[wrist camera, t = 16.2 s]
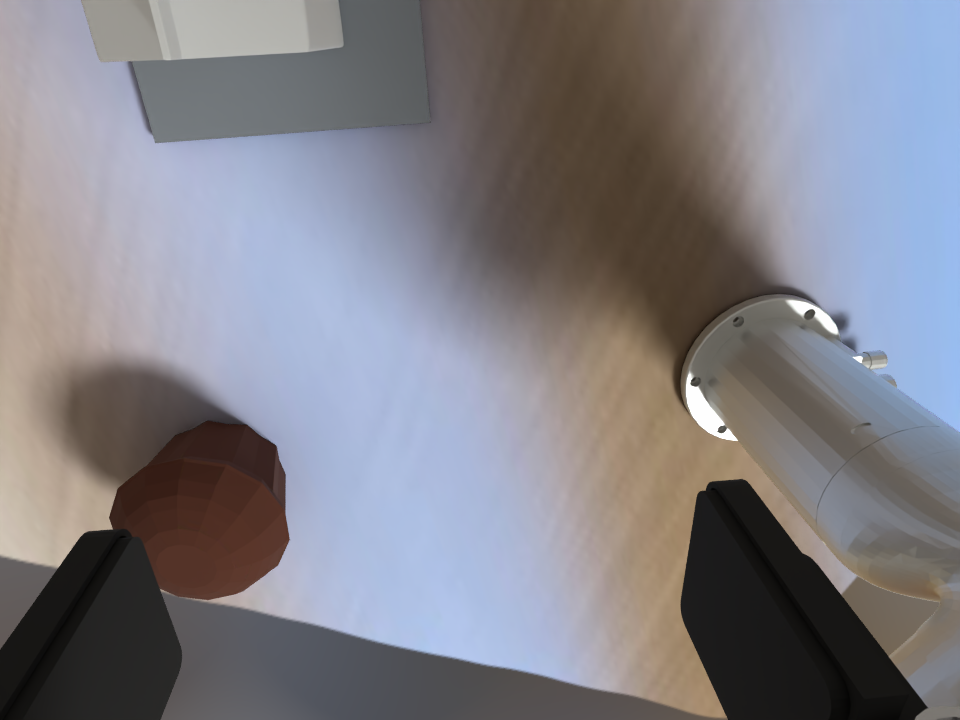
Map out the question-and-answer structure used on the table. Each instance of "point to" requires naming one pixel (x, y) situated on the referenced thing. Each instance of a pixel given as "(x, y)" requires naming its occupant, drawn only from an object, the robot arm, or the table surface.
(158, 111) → the mat
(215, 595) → the muffin
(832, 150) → the table surface
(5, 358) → the table surface
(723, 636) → the robot arm
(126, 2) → the milk carton
